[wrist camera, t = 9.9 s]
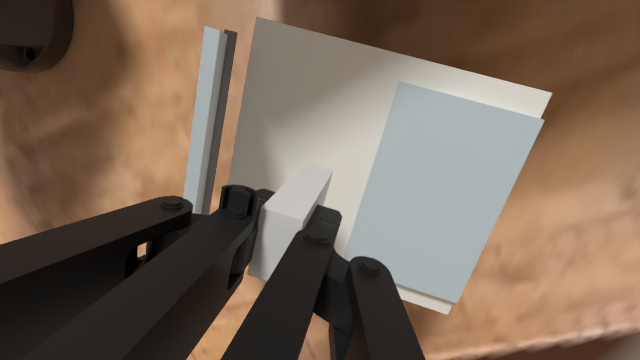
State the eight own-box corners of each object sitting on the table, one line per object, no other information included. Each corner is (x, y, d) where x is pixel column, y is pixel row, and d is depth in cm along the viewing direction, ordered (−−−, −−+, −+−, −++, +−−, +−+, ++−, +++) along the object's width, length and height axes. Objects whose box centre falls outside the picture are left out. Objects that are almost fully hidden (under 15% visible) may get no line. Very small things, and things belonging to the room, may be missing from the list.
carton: (275, 185, 39) (213, 241, 25) (306, 42, 34) (251, 14, 20) (425, 233, 37) (449, 321, 23) (483, 89, 32) (558, 93, 18)
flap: (214, 185, 31) (202, 184, 31) (238, 35, 27) (224, 31, 27) (194, 293, 18) (171, 292, 17) (235, 26, 13) (205, 18, 13)
